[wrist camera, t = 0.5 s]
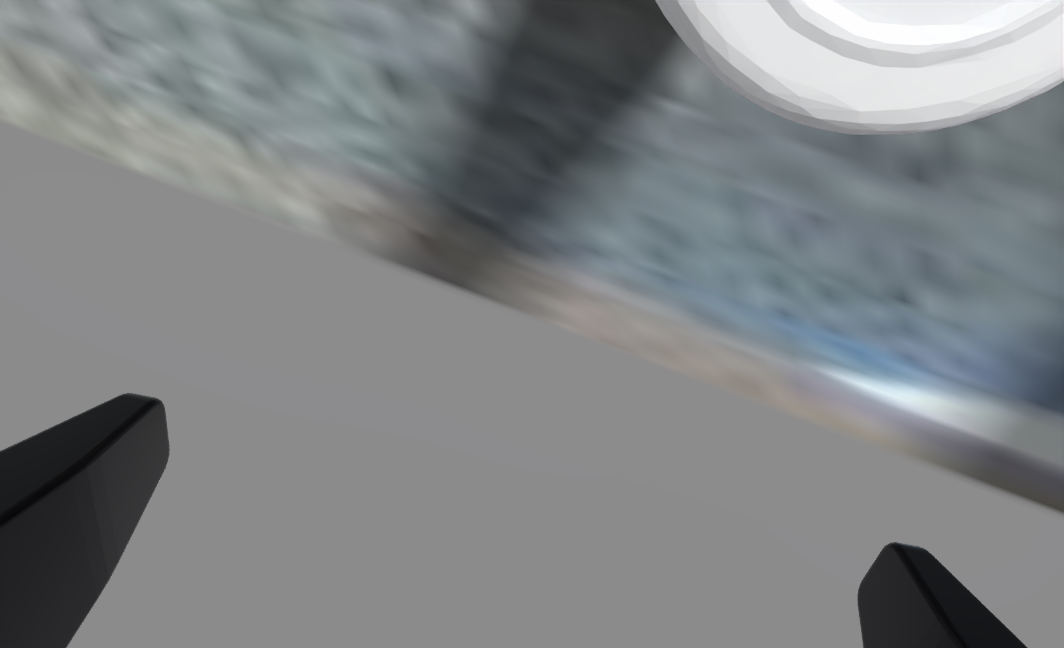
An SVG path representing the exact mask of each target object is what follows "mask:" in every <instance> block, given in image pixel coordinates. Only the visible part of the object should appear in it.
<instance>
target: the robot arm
mask: <svg viewBox="0 0 1064 648" xmlns="http://www.w3.org/2000/svg"><path fill="white" fill-rule="evenodd" d="M168 457H169V440H168V430H167V422H166V413H165V408H164V404H163V403H162V401H161V400H159V399H157V398H154V397H149V396H143V395H138V394H133V393H127V394H122V395H120V396H118V397H115V398H113V399H111V400H109V401H107V402H104V403H102V404H100V405H98V406H96V407H94V408H92V409H90V410H87V411H85V412H83V413H81V414H79V415H77V416H75V417H72V418H70V419H68V420H66V421H64V422H62V423H60V424H58V425H55V426H53V427H51V428H49V429H47V430H45V431H42V432H41V433H38V434H36V435H34V436H32V437H30V438H27V439H25V440H23V441H21V442H19V443H17V444H15V445H12V446H10V447H8V448H6V449H4V450H2V451H0V648H66V647H67V646H68V644H69V643H70V641H71V640H72V638H73V636H74V635H75V633H76V631H77V630H78V629H79V627H80V625H81V624H82V622H83V621H84V619H85V618H86V616H87V615H88V613H89V611H90V610H91V608H92V607H93V605H94V604H95V602H96V601H97V599H98V597H99V596H100V594H101V592H102V591H103V589H104V587H105V586H106V584H107V583H108V581H109V579H110V577H111V576H112V573H113V572H114V570H115V568H116V566H117V564H118V562H119V560H120V558H121V556H122V554H123V552H124V550H125V548H126V546H127V544H128V542H129V540H130V538H131V536H132V534H133V532H134V530H135V528H136V526H137V524H138V522H139V520H140V518H141V516H142V514H143V512H144V510H145V508H146V506H147V504H148V502H149V500H150V498H151V496H152V494H153V492H154V490H155V488H156V486H157V484H158V481H159V480H160V478H161V476H162V474H163V472H164V469H165V468H166V464H167V462H168ZM858 610H859V617H860V625H861V632H862V640H863V648H1027V647H1026V646H1025V645H1024V644H1023V643H1022V642H1021V641H1020V640H1019V639H1018V638H1017V637H1016V636H1015V635H1014V634H1013V633H1012V632H1011V631H1010V630H1009V629H1008V628H1007V627H1006V626H1005V625H1004V624H1003V623H1002V622H1001V621H1000V620H998V619H997V618H996V617H995V616H994V615H993V614H992V613H991V612H990V611H989V610H988V609H987V608H986V607H985V606H984V605H983V604H982V603H981V602H980V601H979V600H978V599H977V598H976V597H975V596H974V595H973V594H972V593H971V592H970V591H969V590H967V588H966V587H964V586H963V585H962V584H961V583H960V582H959V581H958V580H957V579H956V578H955V577H954V576H953V575H952V574H951V573H950V572H949V571H948V570H947V569H946V568H945V567H944V566H943V565H942V564H941V563H940V562H939V561H938V560H937V559H935V557H934V556H933V555H931V554H930V553H929V552H928V551H927V550H925V549H923V548H920V547H917V546H912V545H907V544H902V543H896V542H894V543H890V544H888V545H886V546H885V547H884V548H883V549H882V551H881V552H880V554H879V555H878V557H877V558H876V560H875V562H874V563H873V565H872V566H871V568H870V569H869V571H868V572H867V574H866V575H865V577H864V579H863V580H862V582H861V584H860V587H859V590H858Z"/></svg>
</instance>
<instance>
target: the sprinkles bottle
mask: <svg viewBox="0 0 1064 648" xmlns="http://www.w3.org/2000/svg"><path fill="white" fill-rule="evenodd" d="M655 1H656V3H657V4H658V6H659V8H660V9H661V11H662V13H663V14H664V16H665V17H666V19H667V20H668V21H669V23H670V24H671V26H672V27H673V28H674V30H675V31H676V32H677V34H678V35H679V36H680V37H681V39H682V40H683V41H684V42H685V44H686V45H687V46H688V47H689V48H690V50H691V51H692V52H693V53H694V54H695V55H696V56H697V57H698V58H699V59H700V60H701V62H702V63H703V64H704V65H705V66H706V67H707V68H708V69H709V70H710V71H711V72H712V73H713V74H714V75H715V76H716V77H718V78H719V79H720V80H721V81H722V82H723V83H725V84H726V85H727V86H728V87H730V88H731V89H732V90H734V91H735V92H737V93H738V94H740V95H741V96H743V97H744V98H746V99H748V100H750V101H752V102H753V103H755V104H757V105H759V106H760V107H762V108H764V109H766V110H768V111H770V112H772V113H775V114H777V115H779V116H782V117H784V118H786V119H789V120H791V121H793V122H796V123H800V124H803V125H807V126H810V127H813V128H817V129H823V130H828V131H834V132H840V133H846V134H857V135H896V134H912V133H920V132H929V131H935V130H939V129H943V128H947V127H954V126H958V125H961V124H964V123H967V122H971V121H974V120H977V119H980V118H983V117H986V116H989V115H992V114H995V113H998V112H1001V111H1003V110H1006V109H1008V108H1010V107H1012V106H1015V105H1017V104H1019V103H1021V102H1024V101H1026V100H1028V99H1030V98H1033V97H1035V96H1037V95H1039V94H1042V93H1044V92H1046V91H1048V90H1050V89H1051V88H1053V87H1055V86H1056V85H1058V84H1060V83H1062V82H1063V81H1064V0H655Z"/></svg>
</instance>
